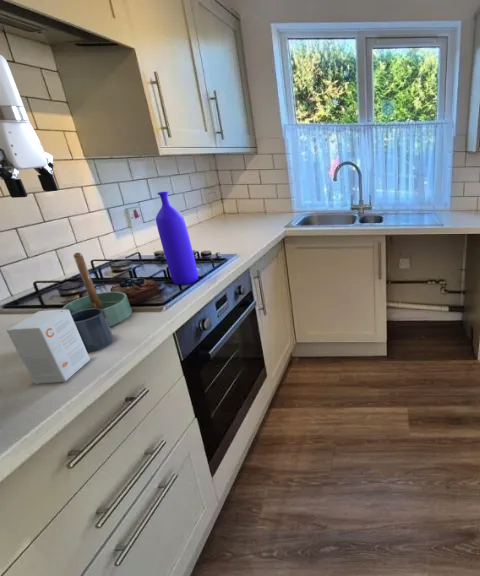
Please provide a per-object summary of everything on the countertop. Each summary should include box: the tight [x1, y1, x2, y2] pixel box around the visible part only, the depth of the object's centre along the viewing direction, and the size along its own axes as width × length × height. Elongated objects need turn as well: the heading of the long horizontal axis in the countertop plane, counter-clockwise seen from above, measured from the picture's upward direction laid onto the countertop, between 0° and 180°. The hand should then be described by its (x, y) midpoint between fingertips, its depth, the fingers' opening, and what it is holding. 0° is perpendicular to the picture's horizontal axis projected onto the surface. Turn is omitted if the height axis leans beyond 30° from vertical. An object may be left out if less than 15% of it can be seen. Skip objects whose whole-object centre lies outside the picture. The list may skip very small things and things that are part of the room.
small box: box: [6, 309, 91, 385], centre depth 75 cm, size 8×6×13 cm
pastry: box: [109, 276, 160, 305], centre depth 113 cm, size 11×12×6 cm
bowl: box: [60, 291, 133, 327], centre depth 98 cm, size 14×14×6 cm
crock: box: [71, 308, 115, 353], centre depth 86 cm, size 7×7×8 cm
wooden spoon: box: [73, 252, 104, 309], centre depth 95 cm, size 2×3×19 cm, turn 6°
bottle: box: [155, 191, 199, 286], centre depth 119 cm, size 8×8×30 cm
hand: (36, 193), depth 88 cm, fingers open, 9 cm apart
